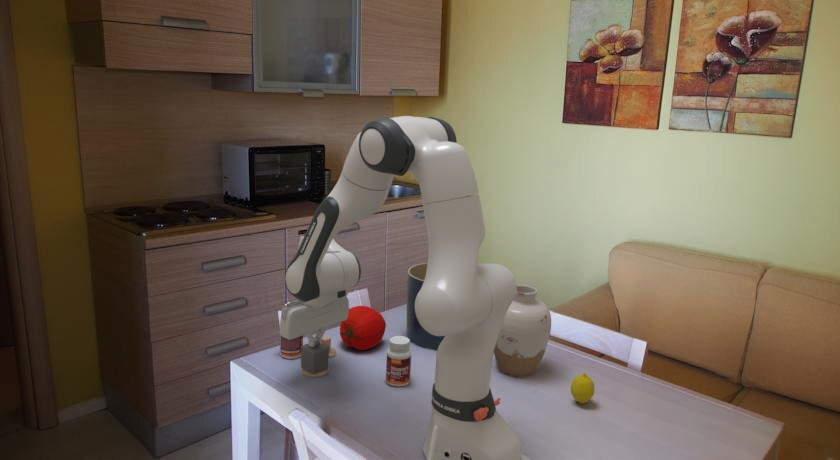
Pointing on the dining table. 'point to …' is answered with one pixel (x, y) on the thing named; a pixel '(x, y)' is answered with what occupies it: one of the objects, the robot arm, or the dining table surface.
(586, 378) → the fruit
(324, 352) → the charcoal tapered box
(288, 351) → the pill bottle
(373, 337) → the tomato
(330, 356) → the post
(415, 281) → the planter
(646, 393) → the dining table surface
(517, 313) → the vase
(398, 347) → the pill bottle
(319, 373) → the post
